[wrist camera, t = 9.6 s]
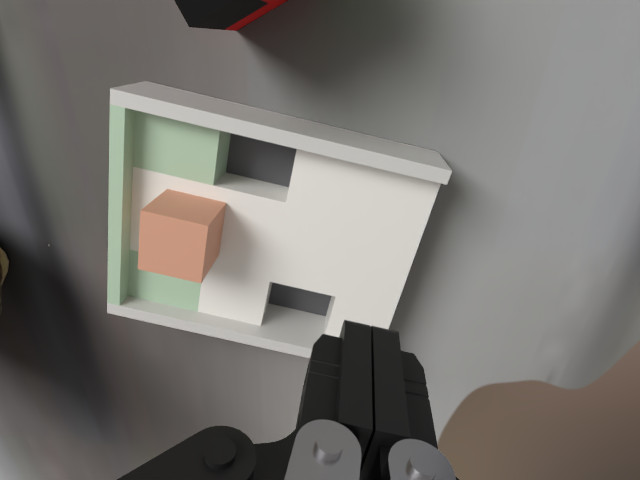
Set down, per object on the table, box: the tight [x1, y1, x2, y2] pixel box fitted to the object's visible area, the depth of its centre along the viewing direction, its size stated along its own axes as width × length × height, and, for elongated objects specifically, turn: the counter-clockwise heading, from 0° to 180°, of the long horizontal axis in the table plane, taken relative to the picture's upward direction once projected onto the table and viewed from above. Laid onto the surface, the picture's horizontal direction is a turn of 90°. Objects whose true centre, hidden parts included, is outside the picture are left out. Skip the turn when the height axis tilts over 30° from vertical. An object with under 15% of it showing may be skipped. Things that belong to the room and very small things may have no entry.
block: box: [138, 189, 226, 283], centre depth 31 cm, size 4×4×4 cm
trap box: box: [107, 81, 452, 358], centre depth 35 cm, size 23×18×6 cm
